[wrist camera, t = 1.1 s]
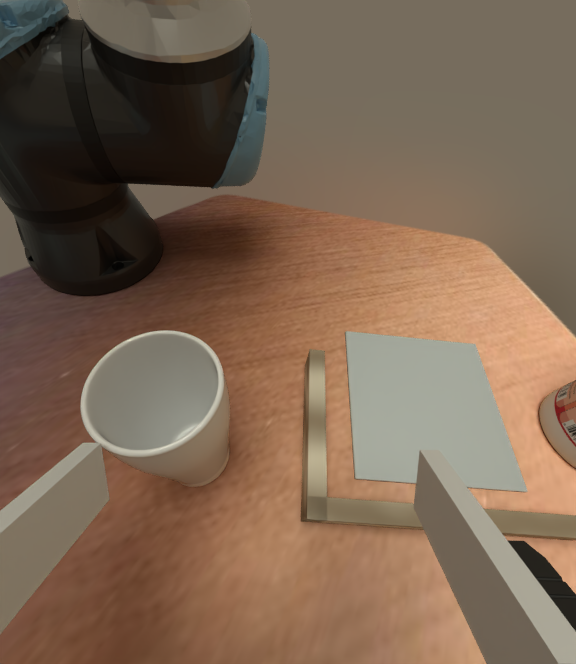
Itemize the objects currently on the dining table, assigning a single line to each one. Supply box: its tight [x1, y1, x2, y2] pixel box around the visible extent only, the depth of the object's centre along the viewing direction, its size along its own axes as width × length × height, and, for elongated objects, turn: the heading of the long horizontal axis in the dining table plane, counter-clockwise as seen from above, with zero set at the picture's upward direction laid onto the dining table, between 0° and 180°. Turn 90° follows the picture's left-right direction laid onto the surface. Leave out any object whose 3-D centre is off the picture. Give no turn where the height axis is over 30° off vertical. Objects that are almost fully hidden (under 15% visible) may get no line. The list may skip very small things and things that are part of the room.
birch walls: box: [301, 349, 576, 540], centre depth 28 cm, size 14×24×4 cm, turn 87°
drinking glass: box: [80, 330, 230, 487], centre depth 21 cm, size 7×7×15 cm
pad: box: [345, 331, 528, 492], centre depth 32 cm, size 16×16×1 cm
